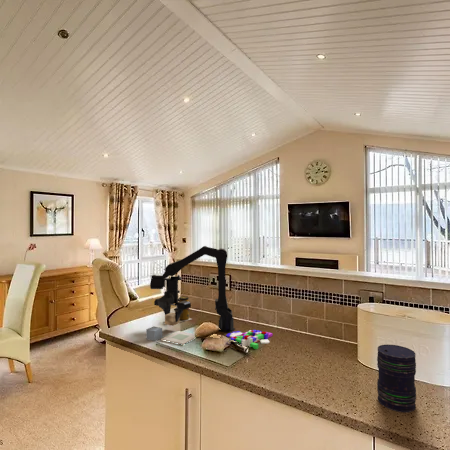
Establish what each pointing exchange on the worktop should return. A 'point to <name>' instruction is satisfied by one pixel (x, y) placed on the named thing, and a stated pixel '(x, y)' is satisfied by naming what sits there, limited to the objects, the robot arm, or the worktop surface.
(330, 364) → the worktop surface
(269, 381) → the worktop surface
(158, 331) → the slate block
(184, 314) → the condiment
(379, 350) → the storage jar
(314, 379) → the worktop surface
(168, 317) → the oak block
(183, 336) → the plate
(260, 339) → the building block set
